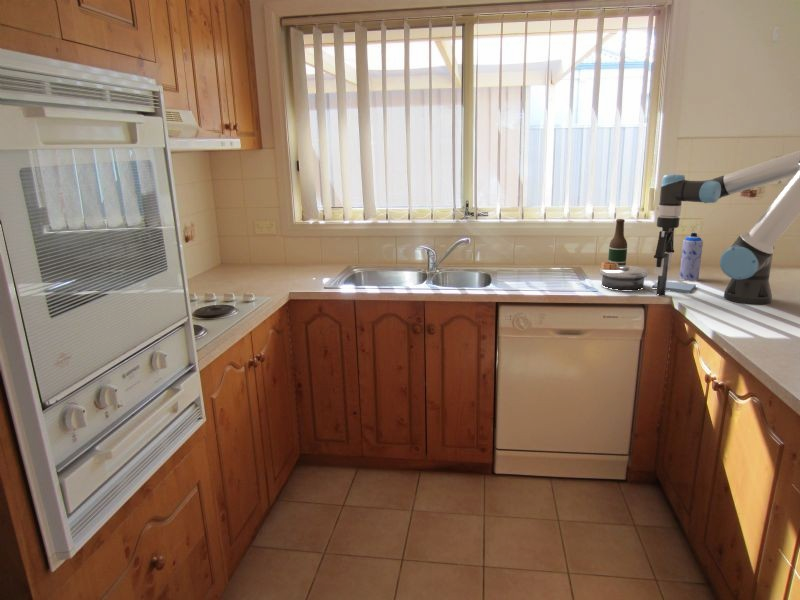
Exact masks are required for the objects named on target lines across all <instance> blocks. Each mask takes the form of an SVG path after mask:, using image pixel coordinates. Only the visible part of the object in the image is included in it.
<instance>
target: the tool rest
mask: <svg viewBox="0 0 800 600" xmlns="http://www.w3.org/2000/svg"><path fill="white" fill-rule="evenodd" d="M657 284H658V281H656V282H655V283H654V284H652V285H651V289H652V288H657ZM696 285H697V284H695V283H686V282H685V283H684V282H677V281H676V282H675V281H667V280H666V290H670V291H669V292H674V291H676V293H684V294H691V293H692V292H693V291H694V288H696Z"/></svg>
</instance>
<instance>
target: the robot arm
mask: <svg viewBox="0 0 800 600" xmlns="http://www.w3.org/2000/svg"><path fill="white" fill-rule="evenodd" d="M789 177H791V179H790V180H788V182H787V184H786V185H785V186H784V188H782V190H781V191H780V192H779V193H778V195H776V197H775V199H773V201H772V202H771V203H770V204H769V206H768V207H767V209H766V210H765V211H763V214H762V215H761V216H760V218H759V219H758V220H757V221H756V222H755V224H754V225H753V226H752V227H751V228H750V230H748V232H744V233H741V234H739V236H738V237H737V238H736V239H735V241H734V242H733V243H732V244H731V246H730V247H728V248H726V249H725V250H724V251H723V252H722V254H721V256H720V258H719V267H720V269H721V271H722V273H723V274H724V275H726V276H727V277H729V278H730V280H729V282H728V283H727V286H726V287H725V290H724V294H723V298H724V299H726V300H728V301H731V302H735V303H741V304H747V305H749V304H750V305H766V304H771V303H772V300H773V293H772V289H771V285H770V275H771V274H770V273H771V269H772V263H773V254H774V252H775V251H774V250H775V244H776V242H777V241H779V239H780V238H781V237H782V236H783V235H784V233H785V232H786V231H787V230H788V229H789V228H790V226H791V225H792V224H793V223H794V221H795V220H796V219H797V218H798V217H799V216H800V150H797V151H794V152H791V153H787V154H784V155H782V156H779V157H775V158H772V159H770V160H767V161H763V162H760V163H757V164H755V165H752V166H748V167H745V168H742V169H739V170H736V171H733V172H731V173H726V174H724V175H721V176H718V177H714V178H712V179H707V180H689V179H688V180H686V177H685V175H684V174H679V173H678V174H676V173H674V174H673V173H670V174H664V175H663V176H662V179H661V186H660V192H659V203H658V206H657V208H656V209H657V210H658V212H657V215H658V217H657V219H656V220H657V221H656V227H658V228H662V229H661V230H660V231H659V232H658V233H659V234H658V240H657V244H656V245H657V246H656V249H655V254H654V255H653V259H655V262H654V263H655V264H654V269H653V270H654V271H653V275H654V276H657V277H658V276H662V273H663V264H664V254H665V253H667V254H669V262H668V270H670V269H671V265H672V264H671V263H672V254H673V253H675V250H674V236H675V235H674V233H675V229H677V228H679V225H680V216H681V212H682V202H691V203H704V204H715V203H717V202H718V200H720V199H722V198H724V197H728V196H731V195H734V194H736V193H741V192H743V191H744V192H745V191H747V190H750V189H754V188H757V187H760V186H765V185H767V184H770V183H774V182H778V181H781V180H784V179H787V178H789Z"/></svg>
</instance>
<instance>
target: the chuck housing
mask: <svg viewBox="0 0 800 600" xmlns="http://www.w3.org/2000/svg"><path fill="white" fill-rule="evenodd" d="M601 276H602V277H601V286H602V285H603V286H605V287H608V288H612V289H618V290H638V289H641V288H643V289H644V287H645V284H644V283H645V278H640V279H619V278H611V277H606V276H603V275H601Z"/></svg>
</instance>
